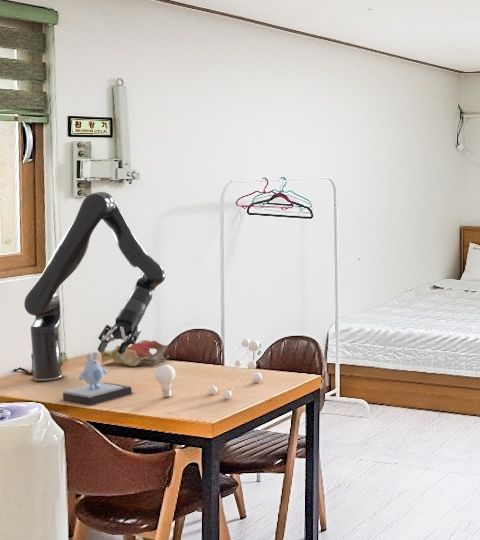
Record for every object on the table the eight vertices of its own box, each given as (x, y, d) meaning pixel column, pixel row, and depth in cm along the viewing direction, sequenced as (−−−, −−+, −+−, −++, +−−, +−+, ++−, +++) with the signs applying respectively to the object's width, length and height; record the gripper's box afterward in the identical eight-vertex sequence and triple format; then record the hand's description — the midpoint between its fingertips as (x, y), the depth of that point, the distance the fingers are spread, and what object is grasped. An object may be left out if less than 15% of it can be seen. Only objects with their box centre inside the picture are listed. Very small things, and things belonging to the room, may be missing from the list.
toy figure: (86, 393, 287) (83, 357, 286) (74, 390, 290) (71, 355, 289) (113, 385, 296) (111, 351, 295) (101, 383, 299) (99, 349, 298)
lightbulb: (170, 394, 297) (168, 362, 295) (180, 396, 293) (178, 364, 291) (153, 397, 292) (151, 365, 291) (163, 400, 288) (161, 368, 287)
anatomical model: (141, 370, 332) (135, 345, 331) (97, 376, 343) (91, 351, 342) (185, 355, 353) (179, 331, 352) (141, 361, 363) (136, 337, 362)
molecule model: (275, 387, 310) (282, 341, 305) (225, 408, 288) (232, 358, 283) (244, 374, 315) (251, 328, 310) (193, 393, 293) (199, 344, 288)
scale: (63, 400, 291) (62, 390, 291) (104, 389, 305) (104, 380, 304) (90, 405, 284) (89, 395, 284) (131, 393, 298) (131, 384, 298)
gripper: (109, 307, 309) (86, 345, 299) (142, 308, 304) (120, 347, 294) (121, 319, 314) (99, 357, 305) (153, 321, 309) (132, 359, 300)
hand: (109, 352), depth 300 cm, fingers open, 8 cm apart
